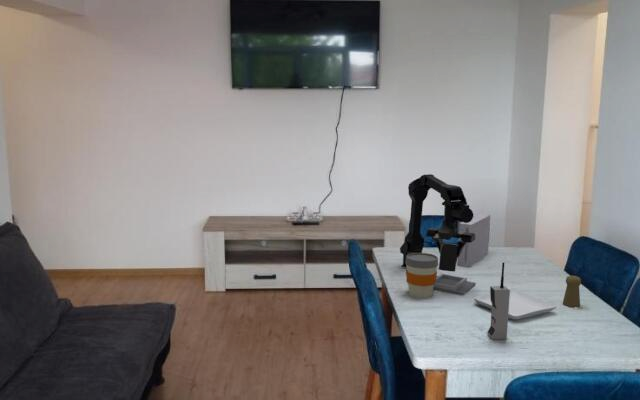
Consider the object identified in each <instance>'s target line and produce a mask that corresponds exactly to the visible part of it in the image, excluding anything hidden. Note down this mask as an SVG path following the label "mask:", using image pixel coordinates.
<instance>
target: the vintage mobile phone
mask: <svg viewBox="0 0 640 400" xmlns="http://www.w3.org/2000/svg"><path fill="white" fill-rule="evenodd" d="M504 273H505V262H502V266H501V276H500V285H491V286H489V287H490V288H489V290H490V292H489V294H490V296H491V302H492V310H491V312H490V316H491V317H490V326H489V328H488V330H487V333H486V335H487V336H488V337H489V339H490V340H491V341H501V340H502V341H503V340H507V339H508V327H509V326H508V325H509V324H508V323H509V317H508V312H509V297H510V290H509V289H510V288H508V287H506V286H505V285H504V279H505V276H504Z"/></svg>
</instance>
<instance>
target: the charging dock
mask: <svg viewBox="0 0 640 400" xmlns="http://www.w3.org/2000/svg"><path fill="white" fill-rule="evenodd" d="M475 286H476V282H473V281H468V277H463V276H457V275H452V274H447V273H446V274H445V273H440V274H439V275H437V276H436V282H435V284H434V287H433V291H438V292H439V291H440V292H442V293H443V292H444V293H449V294H454V295H459V296H465V295H466V294H467V293H469V291H470V290H472V288H474V287H475Z"/></svg>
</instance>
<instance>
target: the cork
mask: <svg viewBox="0 0 640 400" xmlns="http://www.w3.org/2000/svg"><path fill="white" fill-rule="evenodd" d="M565 284H566V289H565V292H564V296H563V299H562V300H563V301H562V305H563V306H565V307H566V306H567V308H571V307H572V308H571V309H573V308H574V307H578V308H580V307H581V297H580V286H581V284H582V279H581V277H580V276H577V275H568V276H567V277H566V278H565ZM574 309H575V308H574Z"/></svg>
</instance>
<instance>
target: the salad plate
mask: <svg viewBox="0 0 640 400" xmlns="http://www.w3.org/2000/svg"><path fill="white" fill-rule="evenodd" d="M508 289H509V290H510V297H509V312H508V319H512V320H520V319H524V318H528V317H529V318H530V317H533V316H537V315H540V314H544V313H548V312H552V311H553V310H555V309H556V308H557V305H556V304H553V303H551V302H549V301H547V300H544V299H541V298H539V297H536V296H534V295H532V294H529V293H526V292H523V291H522V290H518V289H516V288H508ZM472 298H473V300H474V301H475V303H477V304H479V305H481V306H482V307H486V308H487V309H490V310H491V311H492V302H491V296H490V293H486V294H482V295H477V296H474V297H472Z"/></svg>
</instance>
